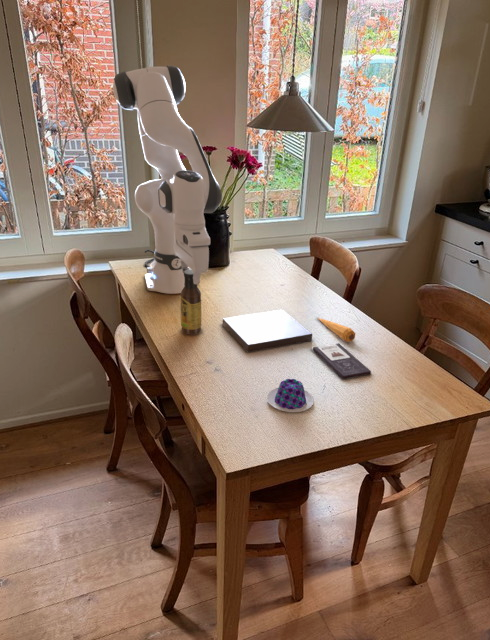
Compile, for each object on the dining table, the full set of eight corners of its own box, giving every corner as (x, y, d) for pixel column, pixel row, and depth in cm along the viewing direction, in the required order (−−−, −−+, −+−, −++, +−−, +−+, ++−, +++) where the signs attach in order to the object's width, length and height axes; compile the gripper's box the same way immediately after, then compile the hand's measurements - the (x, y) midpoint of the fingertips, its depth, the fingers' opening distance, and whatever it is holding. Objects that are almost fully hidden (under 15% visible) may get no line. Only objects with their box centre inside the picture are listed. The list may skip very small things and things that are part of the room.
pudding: (323, 406, 135) (325, 389, 132) (284, 419, 129) (285, 401, 127) (295, 384, 144) (297, 367, 141) (257, 396, 138) (258, 378, 135)
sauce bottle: (180, 327, 170) (178, 267, 160) (199, 326, 172) (199, 267, 162) (182, 336, 165) (181, 275, 155) (202, 335, 166) (202, 274, 156)
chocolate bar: (343, 376, 147) (313, 347, 161) (342, 379, 147) (312, 350, 161) (370, 371, 150) (338, 343, 164) (370, 374, 151) (338, 346, 165)
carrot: (354, 345, 168) (359, 331, 167) (343, 342, 165) (349, 328, 164) (319, 325, 184) (324, 313, 183) (309, 322, 181) (314, 310, 180)
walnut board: (222, 325, 173) (222, 318, 172) (281, 316, 182) (282, 309, 181) (248, 352, 158) (248, 344, 157) (311, 340, 167) (312, 333, 166)
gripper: (167, 223, 159) (169, 268, 166) (190, 242, 143) (191, 291, 150) (188, 222, 162) (189, 266, 168) (212, 240, 146) (212, 288, 153)
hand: (190, 278), depth 159 cm, fingers open, 8 cm apart
